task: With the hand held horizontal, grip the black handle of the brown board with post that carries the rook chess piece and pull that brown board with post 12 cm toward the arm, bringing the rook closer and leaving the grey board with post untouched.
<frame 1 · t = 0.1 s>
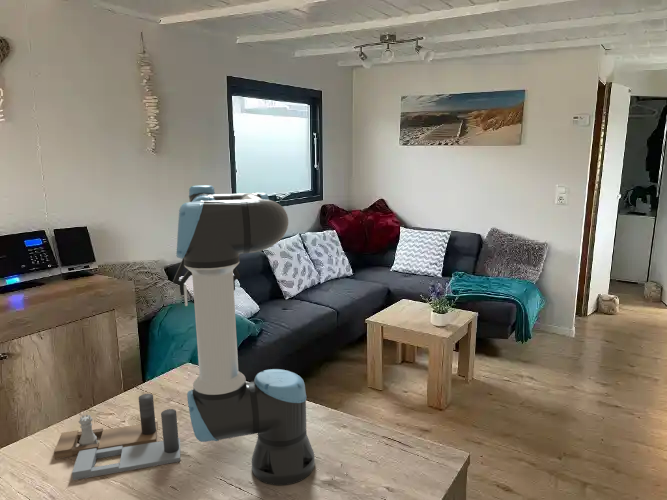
hand: (208, 302, 160), 28 cm above the table, tool pointing down, fingers open, 13 cm apart
brown board with post: (107, 421, 133), point 6 cm above the table, slide at 0.0 cm
rook chess piece: (88, 445, 133), resting in brown board with post
grey board with post: (127, 439, 125), point 6 cm above the table, slide at 0.0 cm
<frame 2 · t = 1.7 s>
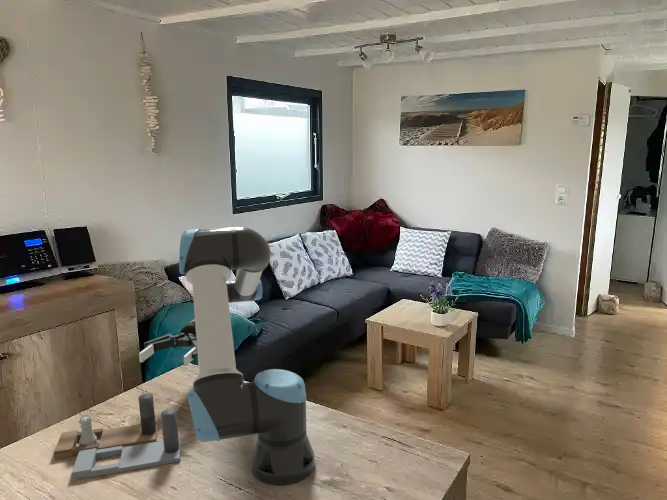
hand: (162, 359, 143), 18 cm above the table, tool horizontal, fingers open, 13 cm apart
nothing on the table moved.
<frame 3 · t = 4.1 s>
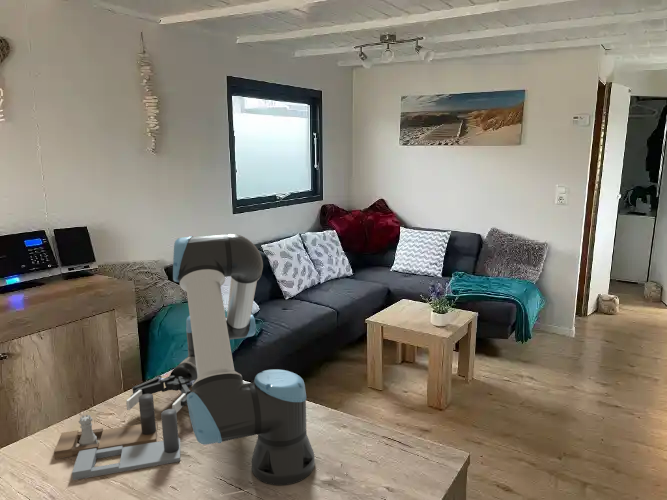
hand: (150, 407, 138), 7 cm above the table, tool horizontal, fingers open, 13 cm apart
nothing on the table moved.
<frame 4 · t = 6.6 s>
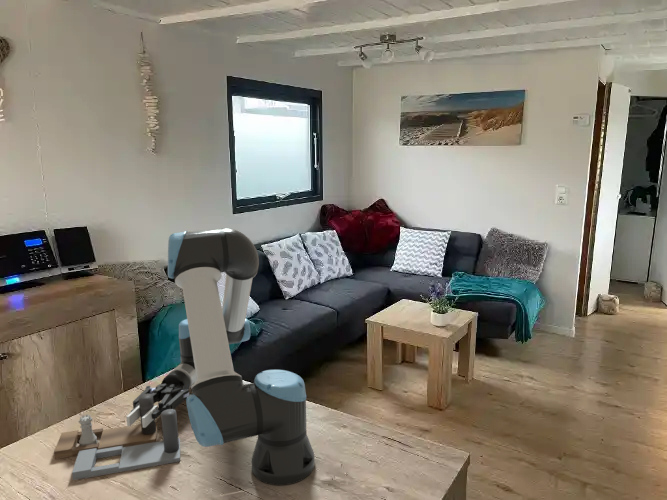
hand: (135, 422, 130), 7 cm above the table, tool horizontal, fingers closed on brown board with post, 4 cm apart
brown board with post: (107, 421, 133), point 6 cm above the table, slide at 0.0 cm, touching gripper
everything else where it was.
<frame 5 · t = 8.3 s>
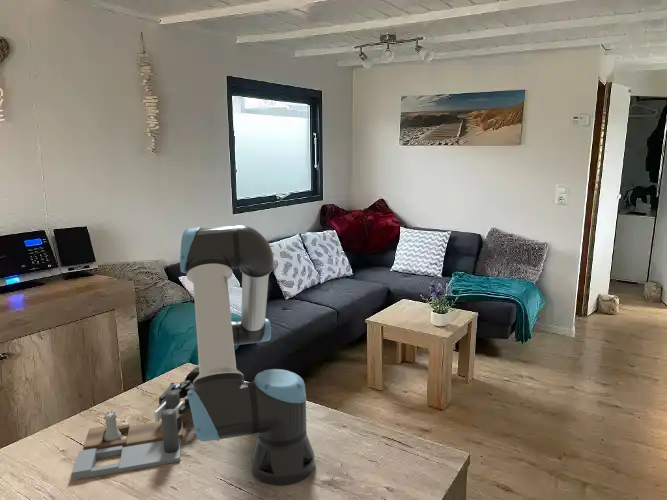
hand: (163, 417, 132), 7 cm above the table, tool horizontal, fingers closed on brown board with post, 4 cm apart
brown board with post: (134, 417, 135), point 6 cm above the table, slide at 6.7 cm, touching gripper, rook chess piece
rook chess piece: (113, 441, 134), resting in brown board with post
everything else where it was.
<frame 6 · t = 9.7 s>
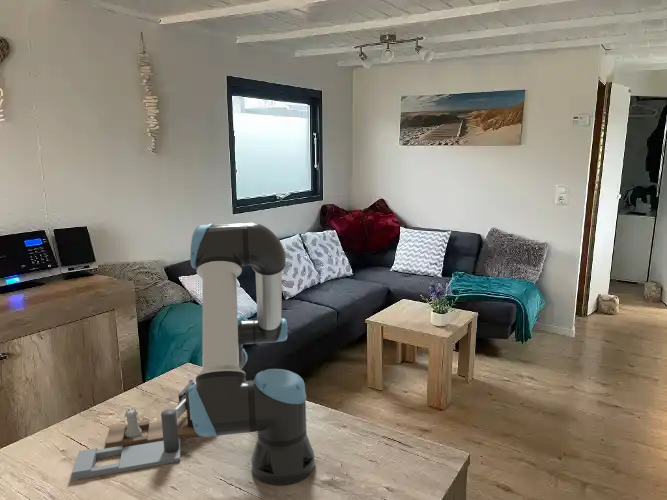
hand: (184, 414, 133), 7 cm above the table, tool horizontal, fingers closed on brown board with post, 4 cm apart
brown board with post: (154, 414, 136), point 6 cm above the table, slide at 11.8 cm, touching gripper, rook chess piece
rook chess piece: (133, 438, 136), resting in brown board with post
everything else where it was.
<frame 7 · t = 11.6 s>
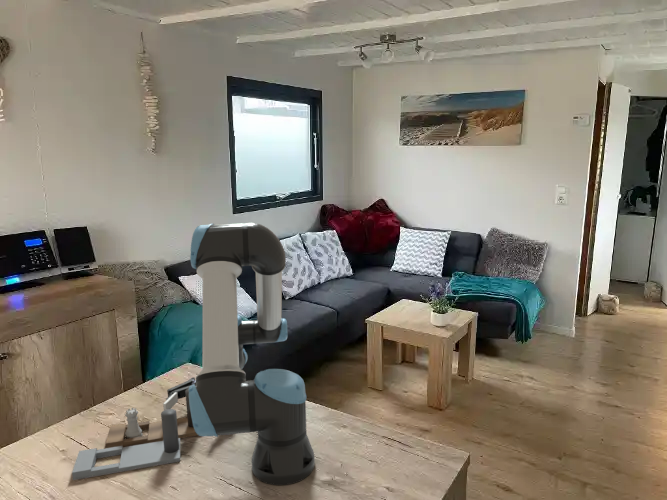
hand: (188, 410, 135), 7 cm above the table, tool horizontal, fingers open, 13 cm apart
brown board with post: (155, 414, 136), point 6 cm above the table, slide at 11.9 cm
rook chess piece: (134, 438, 136), resting in brown board with post
everything else where it was.
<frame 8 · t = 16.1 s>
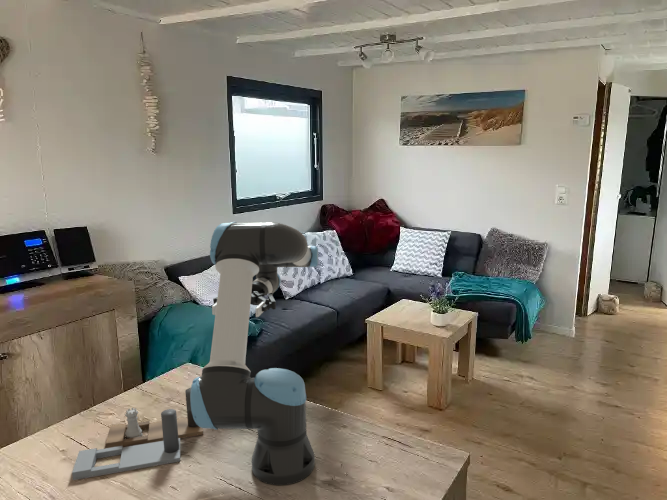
hand: (234, 311, 150), 28 cm above the table, tool horizontal, fingers open, 13 cm apart
nothing on the table moved.
at the end: brown board with post slide at 11.9 cm; rook chess piece inside the target area (1.4 cm from its centre), resting in brown board with post; grey board with post slide at 0.0 cm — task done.
